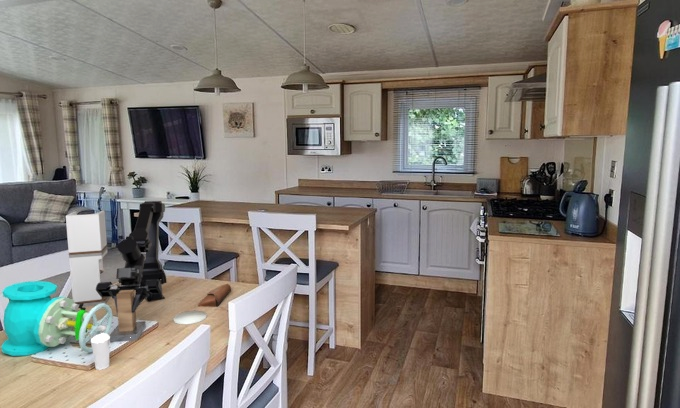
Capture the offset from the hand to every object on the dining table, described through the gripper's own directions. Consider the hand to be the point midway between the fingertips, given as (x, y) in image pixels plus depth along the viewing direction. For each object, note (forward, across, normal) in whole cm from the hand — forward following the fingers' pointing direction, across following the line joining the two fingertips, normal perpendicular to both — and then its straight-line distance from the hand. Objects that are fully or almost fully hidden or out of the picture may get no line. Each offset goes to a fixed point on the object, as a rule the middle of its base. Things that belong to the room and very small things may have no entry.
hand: (125, 312), depth 130 cm
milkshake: (+19, -1, -8) cm, 21 cm away
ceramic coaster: (-2, +17, +13) cm, 22 cm away
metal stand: (+4, 0, +6) cm, 8 cm away
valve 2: (-7, -26, +18) cm, 32 cm away
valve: (+9, -18, +2) cm, 20 cm away
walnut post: (+3, 0, +5) cm, 6 cm away
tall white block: (-20, -23, +32) cm, 44 cm away
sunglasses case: (-15, +24, +27) cm, 39 cm away
